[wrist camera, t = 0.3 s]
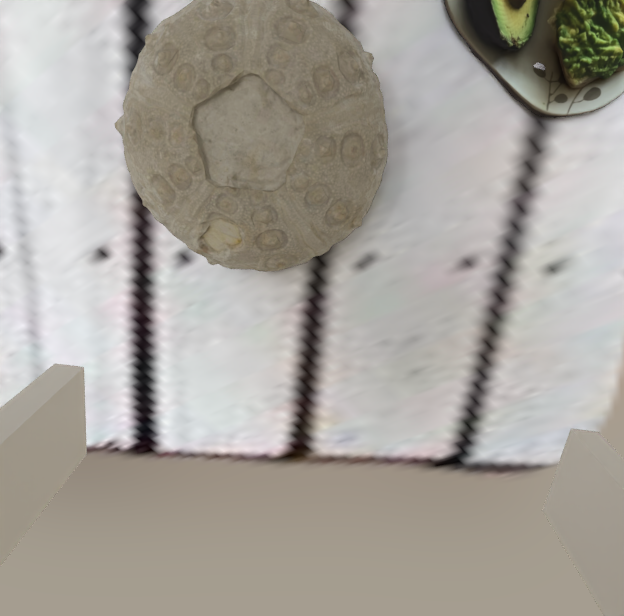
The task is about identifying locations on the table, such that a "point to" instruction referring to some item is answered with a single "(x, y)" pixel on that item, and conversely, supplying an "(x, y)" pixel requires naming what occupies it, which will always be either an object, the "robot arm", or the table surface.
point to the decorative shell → (255, 130)
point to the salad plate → (548, 49)
